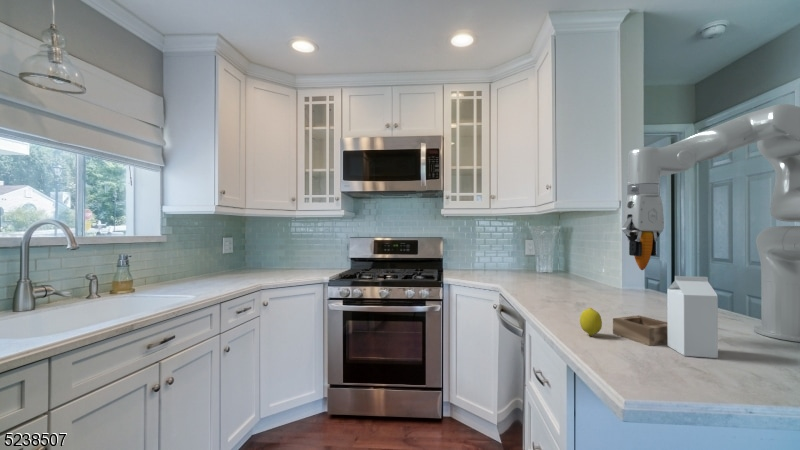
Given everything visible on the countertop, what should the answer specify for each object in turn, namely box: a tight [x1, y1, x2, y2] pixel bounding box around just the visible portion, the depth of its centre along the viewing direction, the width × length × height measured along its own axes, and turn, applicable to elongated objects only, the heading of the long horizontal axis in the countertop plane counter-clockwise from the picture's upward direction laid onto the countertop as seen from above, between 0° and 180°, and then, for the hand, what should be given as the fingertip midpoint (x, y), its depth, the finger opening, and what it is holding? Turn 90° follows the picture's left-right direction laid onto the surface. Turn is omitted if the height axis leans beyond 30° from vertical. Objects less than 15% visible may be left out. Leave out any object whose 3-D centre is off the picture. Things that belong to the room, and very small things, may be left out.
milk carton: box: [666, 275, 719, 359], centre depth 85 cm, size 7×7×19 cm
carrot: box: [634, 231, 653, 271], centre depth 97 cm, size 5×5×15 cm
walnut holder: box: [612, 315, 668, 347], centre depth 97 cm, size 11×11×4 cm
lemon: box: [579, 307, 603, 337], centre depth 98 cm, size 6×6×8 cm
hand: (642, 254), depth 97 cm, fingers closed on carrot, 4 cm apart
